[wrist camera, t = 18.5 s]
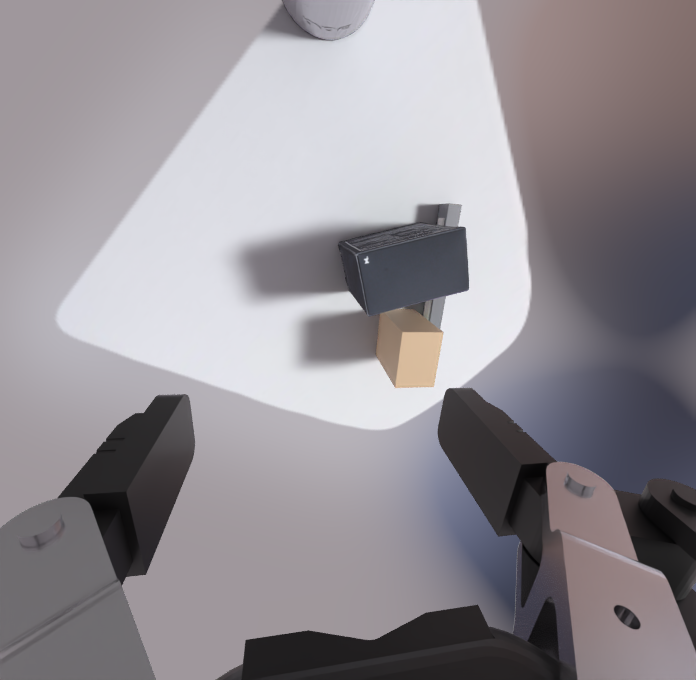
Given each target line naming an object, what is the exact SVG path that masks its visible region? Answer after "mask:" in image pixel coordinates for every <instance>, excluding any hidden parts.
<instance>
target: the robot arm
mask: <svg viewBox="0 0 696 680" xmlns="http://www.w3.org/2000/svg"><path fill="white" fill-rule="evenodd" d="M282 1H283V3H284V5H285V7H286V9H287V11H288V13H289V14H290V15H291V17H292V18H293V19H294V21H295V22H296V23H297V24H298V25H299V26H300V27H301V28H303V29H304V30H305V31H306V32H308V33H310V34H312V35H313V36H315V37H318V38H322V39H327V40H336V39H340V38H344V37H346V36H348V35H350V34H352V33H353V32H355V31H356V30H357V29H358V28H359V27H360V26H361V25H362V24H363V22H364V21H365V19H366V18H367V16H368V15H369V12H370V10H371V8H372V5H373V3H374V0H282ZM438 438H439V442H440V445H441V447H442V449H443V450H444V452H445V454H446V455H447V457H448V458H449V460H450V461H451V463H452V464H453V466H454V468H455V469H456V471H457V472H458V474H459V476H460V477H461V479H462V480H463V482H464V483H465V485H466V486H467V488H468V490H469V491H470V493H471V494H472V496H473V497H474V499H475V501H476V502H477V504H478V505H479V507H480V508H481V510H482V511H483V513H484V515H485V516H486V518H487V519H488V521H489V523H490V524H491V525H492V527H493V529H494V530H495V532H496V534H497V535H498V536H507V535H517V536H518V537H519V539H520V540H521V541H520V543H519V546H518V551H517V575H516V577H517V578H516V602H515V621H514V628H513V633H512V634H511V633H509V632H506V631H503V630H499V629H496V628H493V627H488V625H487V623H486V621H485V619H484V617H483V615H482V612H481V610H480V608H479V606H478V605H474V606H468V607H461V608H454V609H448V610H441V611H435V612H428V613H425V614H423V615H421V616H419V617H417V618H416V619H414V620H412V621H410V622H408V623H406V624H404V625H402V626H400V627H399V628H397V629H395V630H393V631H391V632H389V633H387V634H385V635H384V636H382V637H380V638H378V639H375V640H363V639H356V638H351V637H344V636H339V635H332V634H326V633H320V632H313V631H302V632H296V633H289V634H282V635H276V636H269V637H263V638H256V639H250V640H246V643H245V652H244V660H243V664H242V665H240V666H238V667H236V668H234V669H232V670H230V671H229V672H227V673H226V674H224V675H222V676H221V677H219V678H218V679H217V680H696V592H695V591H694V590H693V589H692V587H693V586H694V584H695V583H696V490H695V489H693V488H691V487H689V486H686V485H683V484H681V483H678V482H675V481H671V480H666V479H652V480H650V481H648V483H647V485H646V487H645V489H644V491H643V493H642V495H640V494H634V493H629V492H623V491H618V490H613V488H612V487H611V486H610V485H609V484H608V483H607V482H606V481H605V480H603V479H602V478H601V477H600V476H598V475H597V474H595V473H593V472H591V471H590V470H588V469H585V468H583V467H581V466H578V465H575V464H572V463H567V462H557V461H556V460H555V459H553V458H552V457H551V456H550V455H549V454H548V453H547V452H546V451H545V450H543V448H542V447H541V446H540V445H538V444H537V443H536V442H535V441H534V440H533V439H532V438H531V437H530V436H529V435H528V434H527V433H526V432H523V429H521V428H520V427H519V426H518V425H517V424H516V423H514V421H513V420H512V419H511V418H510V417H509V416H508V415H507V414H506V413H504V412H503V411H502V410H500V409H499V408H497V407H495V406H493V405H491V404H490V403H488V402H486V401H485V400H484V399H483V398H482V397H481V396H480V395H479V394H478V393H477V392H476V391H475V390H473V389H472V388H449V389H447V390H446V392H445V395H444V400H443V405H442V410H441V416H440V421H439V425H438ZM194 448H195V438H194V430H193V422H192V414H191V407H190V400H189V397H188V395H186V394H183V395H158V396H156V397H155V399H154V400H153V401H152V403H151V404H150V405H149V407H148V408H147V409H146V411H145V412H144V413H135V414H134V415H132V416H131V417H129V418H128V419H126V420H125V421H123V422H122V423H120V424H119V425H117V426H116V428H115V429H114V430H113V431H112V433H111V434H110V435H109V436H108V437H107V439H106V442H103V443H102V445H101V446H100V447H99V448H98V449H97V452H96V454H93V456H92V457H91V458H90V459H89V460H88V462H87V463H86V464H85V465H84V466H83V468H82V469H81V470H80V471H79V472H78V474H77V475H76V476H75V477H74V479H73V480H72V481H71V482H70V483H69V485H68V486H67V487H66V488H65V490H64V491H63V492H62V493H61V495H60V496H59V497H58V498H57V499H53V500H50V501H46V502H44V503H41V504H38V505H36V506H34V507H32V508H29V509H28V510H26V511H24V512H22V513H20V514H19V515H17V516H16V517H14V518H13V519H11V520H10V521H8V522H7V523H6V524H5V525H3V526H2V527H1V528H0V680H156V678H155V675H154V673H153V670H152V667H151V665H150V662H149V659H148V656H147V654H146V651H145V648H144V646H143V643H142V640H141V638H140V635H139V632H138V629H137V626H136V624H135V621H134V618H133V615H132V613H131V610H130V607H129V604H128V602H127V599H126V596H125V594H124V591H123V588H122V584H123V582H124V580H125V578H126V577H129V576H138V575H146V573H147V570H148V568H149V566H150V563H151V561H152V558H153V556H154V553H155V551H156V548H157V546H158V544H159V541H160V539H161V536H162V534H163V531H164V529H165V526H166V524H167V521H168V519H169V516H170V514H171V511H172V509H173V507H174V504H175V502H176V499H177V497H178V494H179V492H180V489H181V487H182V484H183V482H184V479H185V477H186V474H187V472H188V470H189V467H190V464H191V462H192V459H193V455H194Z"/></svg>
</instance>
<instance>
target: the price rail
mask: <svg viewBox="0 0 696 680" xmlns="http://www.w3.org/2000/svg"><path fill="white" fill-rule="evenodd" d="M461 206H462V205H459V204H440V205H439V212H438V218H437V225H441V226H448V227H458V223H459V218H460V212H461ZM445 298H446V296H444V297H441V298H437V299H433V300H429V301H425V303H424V310H423V317H425V318H426V319H427V320H428V321H430V322H431V323H432V324H433V325H435V326H436V327H437V328H439V329H440V326H441V320H442V315H443V309H444V303H445Z"/></svg>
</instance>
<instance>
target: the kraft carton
mask: <svg viewBox="0 0 696 680" xmlns="http://www.w3.org/2000/svg"><path fill="white" fill-rule="evenodd" d="M442 338H443V332H442V331H441V330H440V329H439V328H437V327H436V326H435V325H433V324H432V323H431V322H430V321H428V320H427V319H426V318H425V317H423V316H422V315H421V314H420V313H418V312H417V311H416V310H414V309H395V310H391V311H388V312H384V313H380V318H379V328H378V338H377V348H376V356H377V358H378V359H379V361H380V363H381V365H382V366H383V368H384V370H385V371H386V373H387V375H388V376H389V378H390V380H391V382H392V383H393V385H394V387H395V388H409V387H434V383H435V377H436V371H437V366H438V360H439V354H440V349H441V343H442Z"/></svg>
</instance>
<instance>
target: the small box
mask: <svg viewBox="0 0 696 680" xmlns="http://www.w3.org/2000/svg"><path fill="white" fill-rule="evenodd" d="M338 246H339V250H340V252H341V257H342V262H343V266H344V272H345V276H346V277H345V279H346V282H347V286H348V289H349V291H350V292H351V294H352V295H353V296H354V298H355V299H356V300H357V302H358V303H359V304H360V306H361V307H362V308H363V310H364V311H365V312H366V314H367V315H368V316H373V315H376V314H380V313H384V312H388V311H391V310H395V309H399V308H403V307H406V306H410V305H414V304H418V303H421V302H425V301H429V300H433V299H437V298H441V297H444V296H448V295H452V294H456V293H460V292H464V291H468V290H469V275H468V274H469V273H468V258H467V240H466V228H465V227H448V226H441V225H432V224H426V223H417V224H413V225H408V226H404V227H400V228H395V229H391V230H387V231H383V232H379V233H373V234H370V235H366V236H362V237H358V238H354V239H350V240H346V241H342V242H339V245H338Z"/></svg>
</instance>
